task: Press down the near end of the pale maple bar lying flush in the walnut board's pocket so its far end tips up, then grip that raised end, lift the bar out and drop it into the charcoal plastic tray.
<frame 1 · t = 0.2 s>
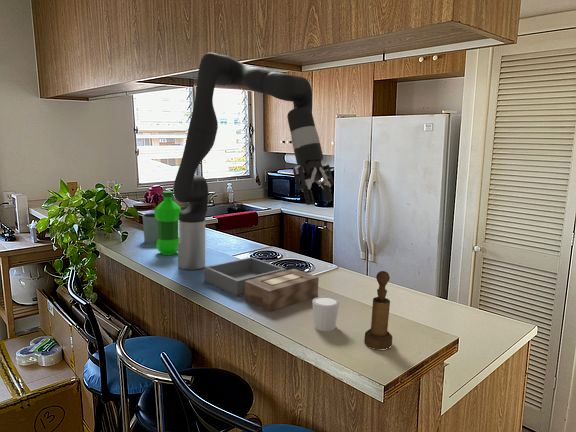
hand: (320, 202, 122), 30 cm above the counter, tool tilted 20°, fingers open, 8 cm apart
drinking glass: (154, 241, 197), on the counter
charcoal tray: (244, 282, 146), on the counter
plastic bottle: (168, 253, 178), on the counter
brown wooden tall figure: (377, 344, 106), on the counter
maple bar: (282, 287, 133), point 3 cm above the counter, touching walnut pocket board
walnut pocket board: (281, 298, 133), on the counter
white cup: (324, 327, 114), on the counter
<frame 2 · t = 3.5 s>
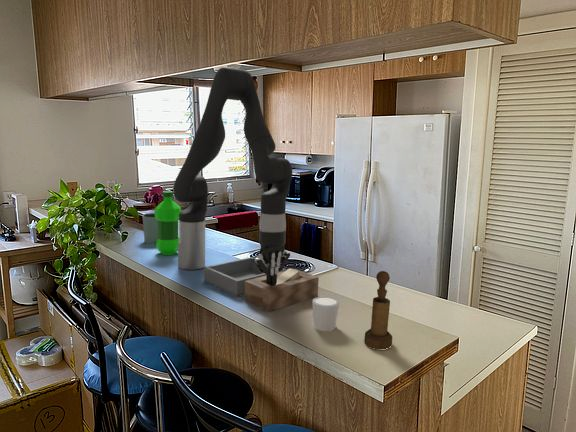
hand: (271, 286, 129), 5 cm above the counter, tool pointing down, fingers closed
maple bar: (282, 286, 133), point 4 cm above the counter, tilted 20°, touching gripper, walnut pocket board
everything else where it was.
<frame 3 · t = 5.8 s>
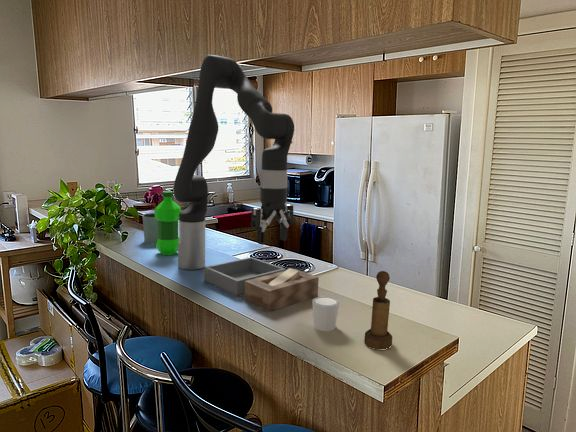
hand: (272, 242, 127), 18 cm above the counter, tool pointing down, fingers open, 8 cm apart
maple bar: (282, 286, 133), point 4 cm above the counter, tilted 20°, touching walnut pocket board
everything else where it was.
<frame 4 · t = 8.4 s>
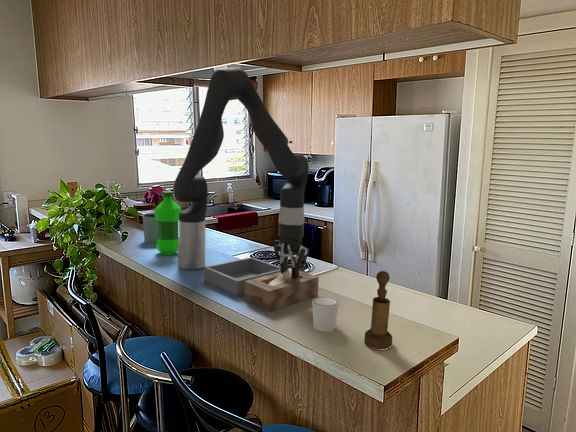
hand: (289, 276, 134), 6 cm above the counter, tool pointing down, fingers closed on maple bar, 4 cm apart
maple bar: (282, 286, 133), point 4 cm above the counter, tilted 20°, touching gripper, walnut pocket board
everything else where it was.
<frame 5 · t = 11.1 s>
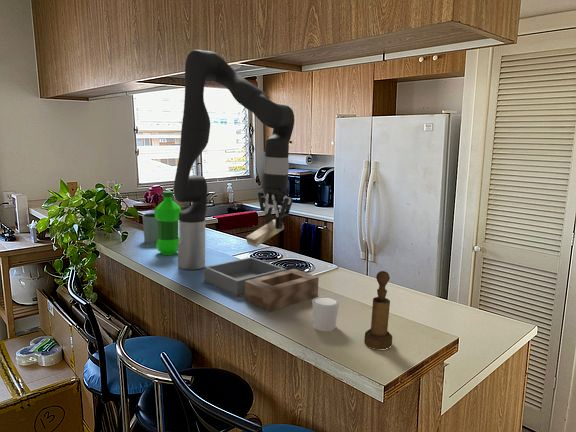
hand: (273, 226, 137), 20 cm above the counter, tool pointing down, fingers closed on maple bar, 4 cm apart
maple bar: (266, 236, 136), point 18 cm above the counter, tilted 21°, touching gripper
everything else where it was.
when the fingers open (11 cm above the counter, at t = 14.0 s): maple bar drops 8 cm, resting on charcoal tray.
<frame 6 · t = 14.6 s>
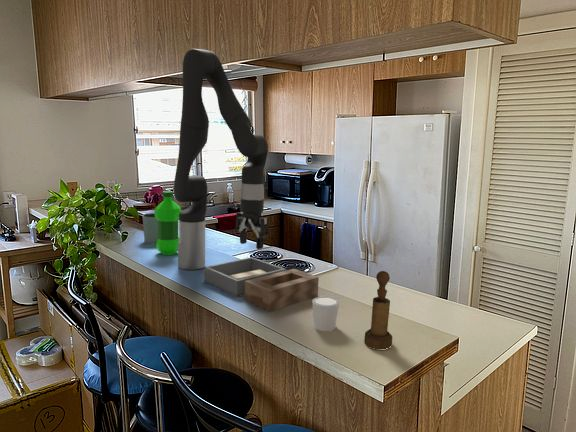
hand: (251, 246, 146), 12 cm above the counter, tool pointing down, fingers open, 8 cm apart
maple bar: (248, 281, 146), resting on charcoal tray
everything else where it was.
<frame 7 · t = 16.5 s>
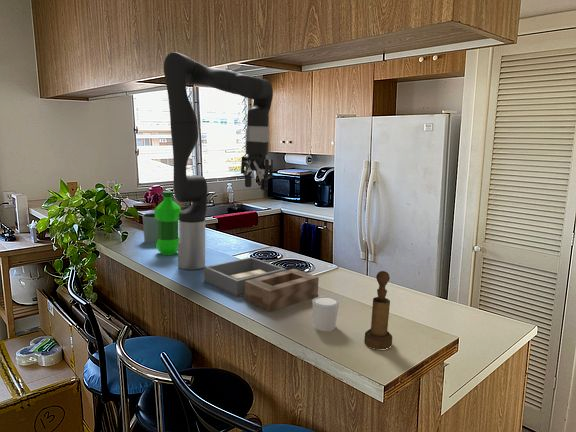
hand: (255, 188, 150), 30 cm above the counter, tool pointing down, fingers open, 8 cm apart
nothing on the counter moved.
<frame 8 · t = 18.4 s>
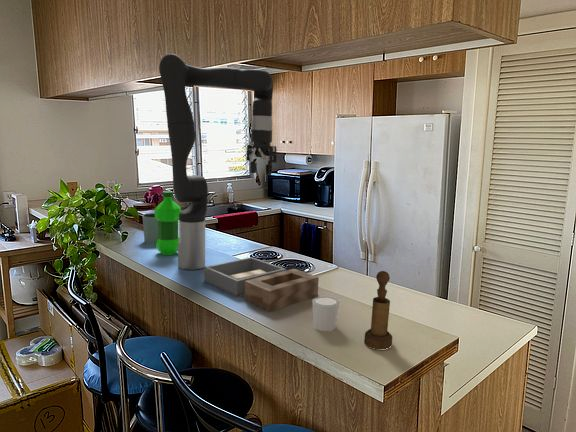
hand: (260, 174, 162), 34 cm above the counter, tool pointing down, fingers open, 8 cm apart
nothing on the counter moved.
at the end: maple bar inside the target area on the charcoal tray (1.2 cm from its centre), point 0.5 cm above the charcoal tray's base; the gripper is holding nothing; maple bar moved 17.6 cm from its start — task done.
